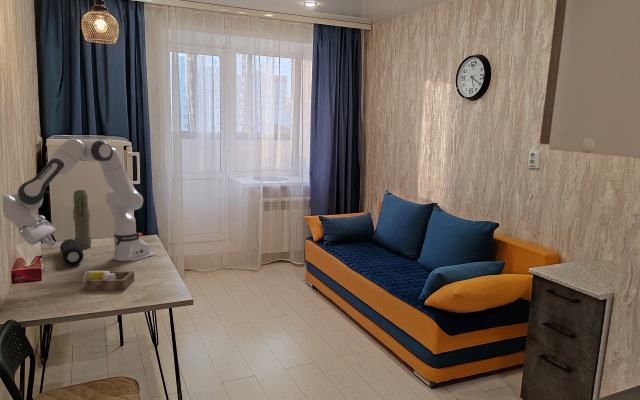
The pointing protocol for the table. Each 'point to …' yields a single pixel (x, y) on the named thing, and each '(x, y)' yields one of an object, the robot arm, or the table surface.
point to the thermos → (81, 219)
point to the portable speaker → (71, 252)
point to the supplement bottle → (99, 275)
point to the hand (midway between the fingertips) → (53, 244)
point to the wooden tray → (112, 282)
